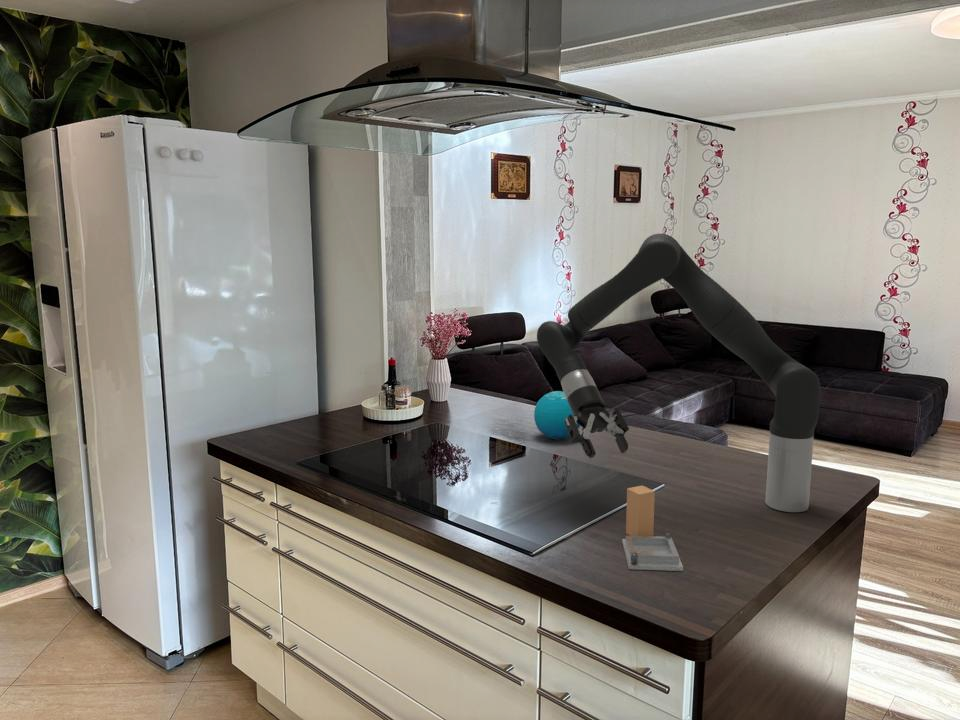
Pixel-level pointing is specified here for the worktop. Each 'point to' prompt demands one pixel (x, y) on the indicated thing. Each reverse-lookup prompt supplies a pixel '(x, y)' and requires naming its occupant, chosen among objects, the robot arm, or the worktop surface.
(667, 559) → the plate
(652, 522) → the tan block
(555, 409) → the decorative orb
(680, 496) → the worktop surface
